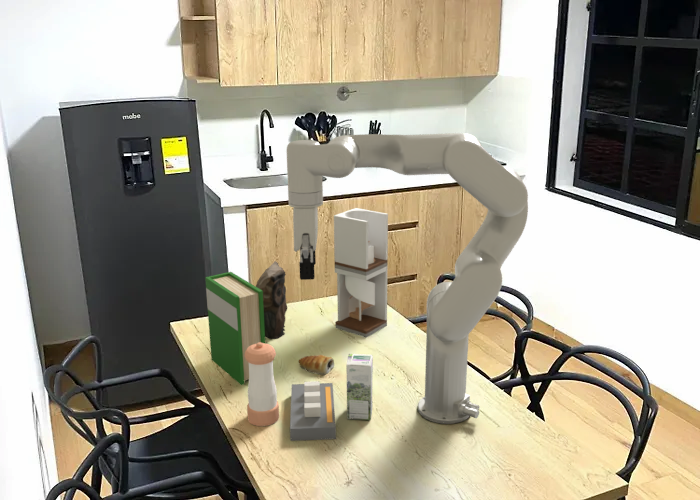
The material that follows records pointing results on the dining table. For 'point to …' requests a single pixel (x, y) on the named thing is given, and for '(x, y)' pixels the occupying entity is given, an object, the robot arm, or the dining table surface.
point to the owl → (273, 300)
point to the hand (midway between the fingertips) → (308, 271)
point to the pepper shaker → (261, 385)
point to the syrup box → (359, 386)
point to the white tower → (361, 270)
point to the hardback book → (234, 322)
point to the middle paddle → (312, 397)
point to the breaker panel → (312, 425)
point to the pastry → (317, 364)
